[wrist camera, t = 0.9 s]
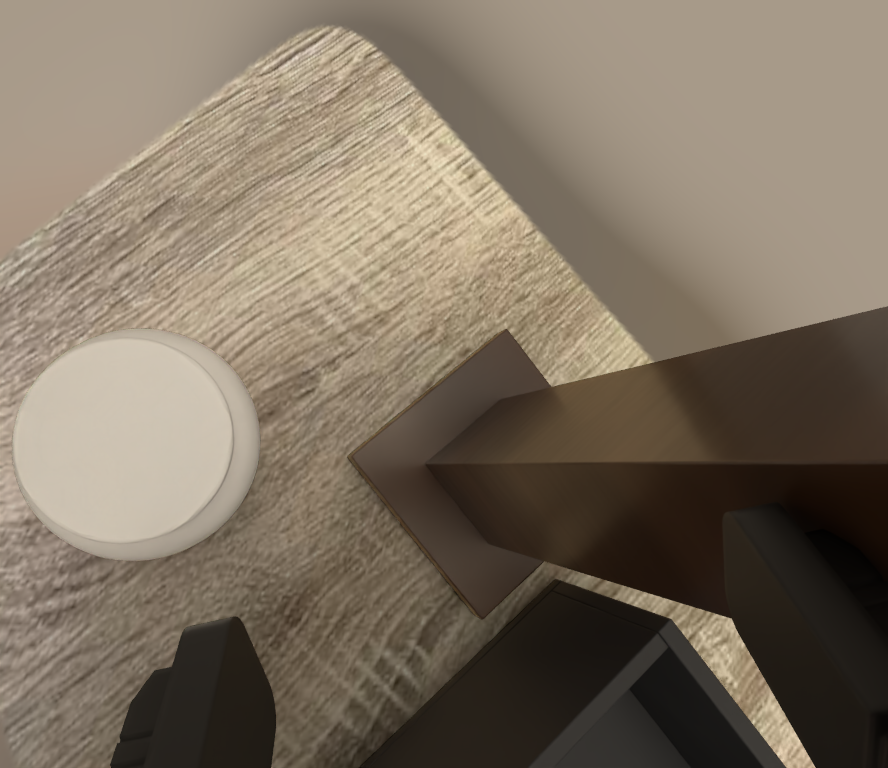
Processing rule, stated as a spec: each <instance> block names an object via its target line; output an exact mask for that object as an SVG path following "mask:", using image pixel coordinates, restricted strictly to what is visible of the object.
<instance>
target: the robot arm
mask: <svg viewBox="0 0 888 768" xmlns="http://www.w3.org/2000/svg"><path fill="white" fill-rule="evenodd" d="M722 529H723V553H724V577H725V593H726V599H727V604H728V607H729V611H730V614H731V617H732V620H733V622H734V625H735V627H736V629H737V631H738V633H739V635H740V637H741V638H742V640H743V642H744V644H745V645H746V647H747V649H748V651H749V652H750V654H751V656H752V658H753V659H754V661H755V663H756V665H757V666H758V668H759V670H760V672H761V673H762V675H763V677H764V678H765V680H766V682H767V684H768V685H769V687H770V689H771V691H772V692H773V694H774V696H775V698H776V699H777V701H778V703H779V705H780V706H781V708H782V710H783V712H784V713H785V715H786V717H787V718H788V720H789V722H790V724H791V725H792V727H793V729H794V731H795V732H796V734H797V736H798V738H799V739H800V741H801V743H802V745H803V746H804V748H805V750H806V752H807V753H808V755H809V757H810V758H811V760H812V762H813V764H814V765H815V767H816V768H888V582H887V581H885V582H884V580H883V578H882V575H881V574H880V573H879V571H878V570H877V569H876V568H875V567H874V566H873V565H872V563H871V562H870V561H869V560H868V559H867V558H866V557H865V555H864V554H863V553H862V552H861V551H860V550H859V549H858V548H857V547H855V546H853V545H852V544H850V543H848V542H846V541H845V540H843V539H841V538H839V537H838V536H836V535H834V534H833V533H831V532H829V531H827V530H824V529H819V530H815V531H810V532H805V533H804V532H803V531H802V530H801V528H800V527H799V526H798V525H797V523H796V522H795V521H794V520H793V518H792V517H791V516H790V515H789V513H788V512H787V511H786V510H785V508H784V507H783V506H782V505H781V504H779V503H777V502H771V503H767V504H762V505H757V506H753V507H748V508H744V509H739V510H734V511H730V512H726V513H725V514H724V516H723V520H722ZM275 732H276V710H275V702H274V697H273V693H272V689H271V686H270V684H269V681H268V679H267V677H266V674H265V672H264V670H263V668H262V665H261V663H260V661H259V658H258V656H257V654H256V651H255V649H254V647H253V644H252V642H251V640H250V638H249V635H248V633H247V631H246V628H245V626H244V624H243V622H242V621H241V619H240V618H238V617H230V618H226V619H221V620H216V621H212V622H207V623H203V624H198V625H193V626H189V627H186V628H185V629H184V631H183V632H182V635H181V638H180V641H179V645H178V648H177V652H176V655H175V658H174V662H173V665H172V667H169V668H164V669H160V670H155V671H154V672H153V673H152V675H151V676H150V677H149V679H148V680H147V681H146V683H145V684H144V685H143V687H142V688H141V690H140V691H139V692H138V694H137V695H136V696H135V698H134V699H133V700H132V702H131V704H130V707H129V710H128V713H127V716H126V719H125V722H124V725H123V728H122V731H121V734H120V743H117V746H116V749H115V752H114V755H113V758H112V761H111V764H110V766H111V768H271V764H272V756H273V748H274V740H275Z"/></svg>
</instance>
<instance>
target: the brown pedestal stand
mask: <svg viewBox="0 0 888 768" xmlns="http://www.w3.org/2000/svg"><path fill="white" fill-rule="evenodd" d="M348 459H349V460H350V461H351V462H352V464H353V465H354V466H355V467H356V469H357V470H358V471H359V472H360V474H361V475H362V476H363V477H364V478H365V480H366V481H367V482H368V483H369V485H370V486H371V487H372V488H373V490H374V491H375V492H376V493H377V495H378V496H379V497H380V498H381V500H382V501H383V502H384V503H385V505H386V506H387V507H388V508H389V510H390V511H391V512H392V513H393V515H394V516H395V517H396V518H397V520H398V521H399V522H400V523H401V525H402V526H403V527H404V528H405V530H406V531H407V532H408V533H409V535H410V536H411V537H412V538H413V540H414V541H415V542H416V543H417V545H418V546H419V547H420V548H421V550H422V551H423V552H424V553H425V554H426V556H427V557H428V558H429V559H430V561H431V562H432V563H433V564H434V566H435V567H436V568H437V569H438V571H439V572H440V573H441V574H442V576H443V577H444V578H445V579H446V581H447V582H448V583H449V584H450V586H451V587H452V588H453V589H454V591H455V592H456V593H457V594H458V596H459V597H460V598H461V599H462V601H463V602H464V603H465V604H466V606H467V607H468V608H469V609H470V611H471V612H472V613H473V614H474V615H475V616H477V617H478V618H480V619H484V618H485V617H486V616H487V615H488V614H489V613H490V612H491V611H492V610H493V609H494V608H495V607H496V606H497V605H499V604H500V603H501V602H502V601H503V600H504V599H505V598H506V597H507V596H508V595H509V594H510V593H511V592H512V591H513V590H514V589H515V588H516V587H518V586H519V585H520V584H521V583H522V582H523V581H524V580H525V579H526V578H527V577H528V576H529V575H530V574H531V573H532V572H533V571H534V570H536V569H537V568H538V567H539V566H540V565H541V564H542V563H543V562H544V561H545V562H548V563H552V564H555V565H558V566H561V567H565V568H568V569H571V570H575V571H578V572H581V573H584V574H588V575H591V576H594V577H597V578H601V579H604V580H607V581H611V582H614V583H617V584H620V585H624V586H627V587H630V588H633V589H637V590H640V591H643V592H647V593H650V594H653V595H656V596H660V597H663V598H666V599H669V600H673V601H676V602H679V603H683V604H686V605H689V606H692V607H696V608H699V609H702V610H705V611H709V612H712V613H715V614H719V615H722V616H725V617H728V618H732V617H731V614H730V611H729V607H728V604H727V599H726V593H725V577H724V553H723V529H722V520H723V516H724V514H725V513H726V512H730V511H734V510H739V509H744V508H748V507H753V506H757V505H762V504H767V503H771V502H777V503H779V504H781V505H782V506H783V507H784V508H785V510H786V511H787V512H788V513H789V515H790V516H791V517H792V518H793V520H794V521H795V522H796V523H797V525H798V526H799V527H800V528H801V530H802V531H803V532H804V533H805V532H810V531H815V530H819V529H824V530H827V531H829V532H831V533H833V534H834V535H836V536H838V537H839V538H841V539H843V540H845V541H846V542H848V543H850V544H852V545H853V546H855V547H857V548H858V549H859V550H860V551H861V552H862V553H863V554H864V555H865V557H866V558H867V559H868V560H869V561H870V562H871V563H872V565H873V566H874V567H875V568H876V569H877V570H878V571H879V573H880V574H881V575H882V578H883V580H884V582H885V581H887V582H888V307H883V308H879V309H875V310H871V311H867V312H862V313H858V314H854V315H850V316H846V317H842V318H837V319H833V320H830V321H825V322H821V323H817V324H813V325H809V326H804V327H800V328H796V329H792V330H787V331H783V332H779V333H775V334H771V335H767V336H762V337H759V338H754V339H750V340H746V341H742V342H737V343H733V344H729V345H725V346H721V347H717V348H712V349H708V350H704V351H700V352H696V353H692V354H687V355H683V356H679V357H675V358H671V359H667V360H663V361H658V362H654V363H650V364H646V365H642V366H637V367H633V368H629V369H625V370H621V371H617V372H612V373H608V374H604V375H600V376H596V377H592V378H587V379H583V380H579V381H575V382H571V383H567V384H562V385H558V386H554V387H551V386H550V385H549V383H548V382H547V381H546V379H545V378H544V377H543V375H542V374H541V373H540V371H539V370H538V369H537V368H536V366H535V365H534V364H533V362H532V361H531V360H530V358H529V357H528V356H527V354H526V353H525V352H524V351H523V349H522V348H521V347H520V345H519V344H518V343H517V341H516V340H515V339H514V337H513V336H512V335H511V334H510V332H509V331H508V330H507V329H505V330H503V331H501V332H499V333H497V334H496V335H495V336H494V337H493V338H491V339H490V340H489V341H488V342H486V343H485V344H484V345H483V346H482V347H480V348H479V349H478V350H477V351H475V352H474V353H473V354H472V355H471V356H469V357H468V358H467V359H466V360H464V361H463V362H462V363H461V364H460V365H458V366H457V367H456V368H455V369H453V370H452V371H451V372H450V373H449V374H447V375H446V376H445V377H444V378H442V379H441V380H440V381H439V382H438V383H436V384H435V385H434V386H433V387H431V388H430V389H429V390H428V391H427V392H425V393H424V394H423V395H422V396H420V397H419V398H418V399H417V400H416V401H414V402H413V403H412V404H411V405H409V406H408V407H407V408H406V409H405V410H403V411H402V412H401V413H400V414H398V415H397V416H396V417H395V418H394V419H392V420H391V421H390V422H389V423H387V424H386V425H385V426H384V427H383V428H381V429H380V430H379V431H378V432H376V433H375V434H374V435H373V436H371V437H370V438H369V439H368V440H367V441H365V442H364V443H363V444H362V445H360V446H359V447H358V448H357V449H356V450H354V451H353V452H352V453H351V454H349V455H348Z"/></svg>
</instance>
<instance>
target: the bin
mask: <svg viewBox="0 0 888 768" xmlns="http://www.w3.org/2000/svg"><path fill="white" fill-rule="evenodd" d="M360 768H786V767H785V765H784V764H783V763H782V762H781V760H780V759H779V758H778V756H777V755H776V754H775V752H774V751H773V750H772V749H771V747H770V746H769V745H768V743H767V742H766V741H765V740H764V738H763V737H762V736H761V734H760V733H759V732H758V731H757V729H756V728H755V727H754V725H753V724H752V723H751V721H750V720H749V719H748V718H747V716H746V715H745V714H744V712H743V711H742V710H741V709H740V707H739V706H738V705H737V703H736V702H735V701H734V700H733V698H732V697H731V696H730V694H729V693H728V692H727V690H726V689H725V688H724V687H723V685H722V684H721V683H720V681H719V680H718V679H717V678H716V676H715V675H714V674H713V672H712V671H711V670H710V668H709V667H708V666H707V665H706V663H705V662H704V661H703V659H702V658H701V657H700V656H699V654H698V653H697V652H696V650H695V649H694V648H693V647H692V645H691V644H690V643H689V641H688V640H687V639H686V637H685V636H684V635H683V634H682V632H681V631H680V630H679V628H678V627H677V626H676V625H675V623H674V622H673V621H672V620H671V619H669V618H667V617H664V616H661V615H658V614H655V613H652V612H649V611H646V610H644V609H641V608H638V607H635V606H632V605H629V604H626V603H624V602H621V601H618V600H615V599H612V598H609V597H606V596H603V595H601V594H598V593H595V592H592V591H589V590H586V589H583V588H581V587H578V586H575V585H572V584H569V583H566V582H563V581H560V580H558V579H555V580H554V581H553V582H552V583H551V584H550V585H549V586H548V587H547V588H546V589H545V590H544V591H543V592H542V593H541V594H540V595H539V596H538V597H537V598H535V599H534V600H533V601H532V602H531V603H530V604H529V605H528V606H527V607H526V608H525V609H524V610H523V611H522V612H521V613H520V614H519V615H518V616H517V617H516V618H515V619H514V620H513V621H512V622H510V623H509V624H508V625H507V626H506V627H505V628H504V629H503V630H502V631H501V632H500V633H499V634H498V635H497V636H496V637H495V638H494V639H493V640H492V641H491V642H490V643H489V644H488V645H487V646H485V647H484V648H483V649H482V650H481V651H480V652H479V653H478V654H477V655H476V656H475V657H474V658H473V659H472V660H471V661H470V662H469V663H468V664H467V665H466V666H465V667H464V668H463V669H462V670H461V671H459V672H458V673H457V674H456V675H455V676H454V677H453V678H452V679H451V680H450V681H449V682H448V683H447V684H446V685H445V686H444V687H443V688H442V689H441V690H440V691H439V692H438V693H437V694H436V695H434V696H433V697H432V698H431V699H430V700H429V701H428V702H427V703H426V704H425V705H424V706H423V707H422V708H421V709H420V710H419V711H418V712H417V713H416V714H415V715H414V716H413V717H412V718H411V719H409V720H408V721H407V722H406V723H405V724H404V725H403V726H402V727H401V728H400V729H399V730H398V731H397V732H396V733H395V734H394V735H393V736H392V737H391V738H390V739H389V740H388V741H387V742H386V743H384V744H383V745H382V746H381V747H380V748H379V749H378V750H377V751H376V752H375V753H374V754H373V755H372V756H371V757H370V758H369V759H368V760H367V761H366V762H365V763H364V764H363V765H362V766H361V767H360Z"/></svg>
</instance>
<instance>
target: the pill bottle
mask: <svg viewBox="0 0 888 768" xmlns="http://www.w3.org/2000/svg"><path fill="white" fill-rule="evenodd" d="M259 455H260V427H259V421H258V416H257V413H256V409H255V406H254V403H253V400H252V398H251V396H250V394H249V392H248V390H247V388H246V386H245V384H244V383H243V381H242V380H241V378H240V377H239V376H238V374H237V373H236V372H235V371H234V369H233V368H232V367H231V366H230V365H229V364H228V363H227V362H226V361H225V360H224V359H223V358H222V357H221V356H219V355H218V354H217V353H216V352H214V351H213V350H211V349H210V348H209V347H207V346H205V345H203V344H202V343H200V342H198V341H196V340H194V339H191V338H189V337H187V336H184V335H181V334H177V333H173V332H170V331H165V330H158V329H147V328H133V329H123V330H117V331H112V332H107V333H104V334H101V335H98V336H95V337H93V338H90V339H88V340H86V341H84V342H82V343H80V344H78V345H76V346H74V347H72V348H71V349H69V350H68V351H66V352H64V353H63V354H61V355H60V356H59V357H58V358H56V359H55V360H54V361H53V362H52V363H51V364H50V365H48V366H47V367H46V368H45V370H44V371H43V372H42V373H41V374H40V375H39V376H38V378H37V379H36V380H35V381H34V383H33V384H32V385H31V387H30V389H29V390H28V392H27V393H26V395H25V397H24V399H23V401H22V403H21V405H20V408H19V410H18V414H17V417H16V421H15V425H14V431H13V436H12V460H13V467H14V472H15V476H16V480H17V482H18V485H19V488H20V490H21V492H22V494H23V496H24V498H25V500H26V502H27V503H28V505H29V507H30V508H31V510H32V511H33V512H34V514H35V515H36V516H37V517H38V519H39V520H40V521H41V522H42V523H43V524H44V525H45V526H46V527H47V528H48V529H49V530H50V531H51V532H52V533H54V534H55V535H56V536H57V537H58V538H60V539H62V540H63V541H65V542H66V543H68V544H70V545H72V546H74V547H75V548H77V549H79V550H82V551H84V552H87V553H89V554H92V555H95V556H98V557H102V558H107V559H113V560H122V561H144V560H153V559H159V558H163V557H167V556H170V555H173V554H176V553H179V552H182V551H184V550H186V549H188V548H190V547H192V546H194V545H196V544H198V543H200V542H201V541H203V540H205V539H206V538H208V537H209V536H210V535H212V534H213V533H215V532H216V531H217V530H218V529H219V528H221V527H222V526H223V525H224V524H225V523H226V522H227V521H228V520H229V519H230V518H231V517H232V515H233V514H234V513H235V512H236V510H237V509H238V508H239V506H240V505H241V503H242V502H243V500H244V498H245V497H246V495H247V493H248V491H249V489H250V487H251V485H252V483H253V480H254V477H255V474H256V470H257V467H258V462H259Z"/></svg>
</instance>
